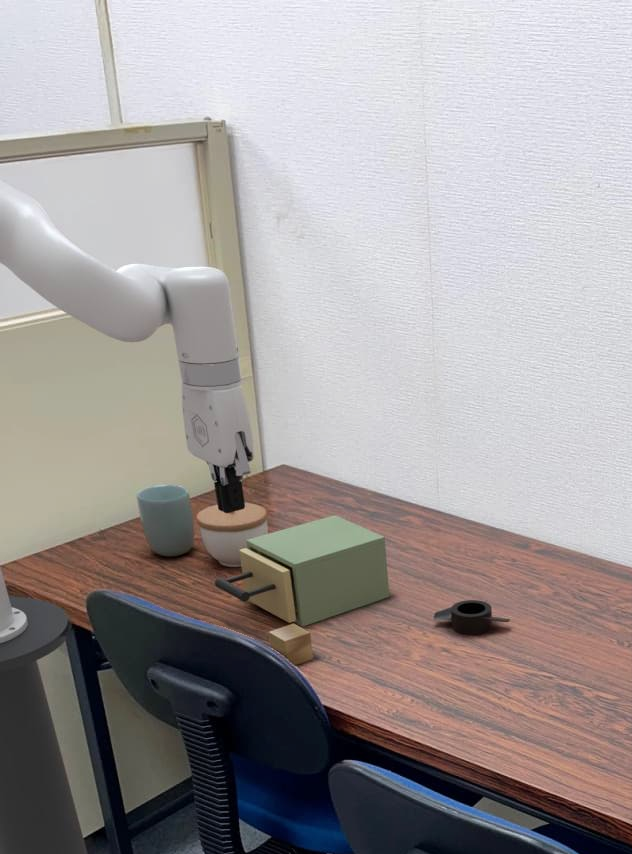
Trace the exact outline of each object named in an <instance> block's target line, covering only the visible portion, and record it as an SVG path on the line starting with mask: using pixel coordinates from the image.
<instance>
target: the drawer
mask: <svg viewBox="0 0 632 854" xmlns="http://www.w3.org/2000/svg"><path fill="white" fill-rule="evenodd" d="M239 553H240V560H241V574H237V575H235V576H231V577H228V578H225V579H224V578H222V577H217V578H216V579H215V580H214V586H215V587H216V588H218V589H220V590H222V591H224V592H225V593H227V594H229V595H230V596H233V597H235V598H237V599H238V600H240V601H241V602H248V601H249V602H250V603H252V604H254V605H256V606H258V607H260V608H261V609H262V610H265V611H267V612H268V613H271V614H272V615H273V616H276V617H278V618H280V619H282V620H283V621H285V622H287V623H289V624H292V623H295V622H294V621H296V615H295V612H297V613H298V609H297V601H296V593H295V585H294V577H293V569H292V567H290V566H288V565H286V564H284V563H282V562H280V561H278V560H276V559H274V558H272V557H270V556H268V555H266V554H264V553H262V552H260V551H258V550H257V553H258V554H257V553H255V552H253V551H251V550H249V549H247V548H244V549H241V550H239ZM239 581H243V586H244V587H243V588H244V589H242V588H240V587H239V586H237V585H235V584H233V583H237V582H239Z"/></svg>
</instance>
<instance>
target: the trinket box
mask: <svg viewBox="0 0 632 854" xmlns="http://www.w3.org/2000/svg"><path fill="white" fill-rule="evenodd" d="M196 522H197V525H198V529H199V535H200V539H201V541H202V545H203V546H204V548H205V549H206V551H207V553H208V554H209V555H210V556H211V557H212V558H214V559H215V560H217V561H218V562H219V564H220V565H222V566H224V567H229V568H239V567H241V560H240V553H239V550H241V549H244V548H247V542H246V540H248V539H252V538H255V537H259V536H262V535H266V534H269V526H268V513H267V510H266V509H265V508H264V507H263V506H261V505H258V504H255V503H250V502H245V508H244V509H242V510H238V511H234V512H230V513H224V512H223V511H220V510H219V509H218V504H214V505H211V506H208V507H206V508H203V509H201V510H200V511H199V512H197V515H196ZM241 568H242V567H241Z"/></svg>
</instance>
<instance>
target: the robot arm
mask: <svg viewBox="0 0 632 854" xmlns="http://www.w3.org/2000/svg"><path fill="white" fill-rule="evenodd" d="M0 264H1V265H2V266H4V267H6V268H7V269H8V270H10V272H12V273H13V275H14V276H16V278H17V279H19V280H20V281H22V282H23V283H24V284H25V285H27V286H28V287H29V288H30V289H31V290H33V291H34V292H36V293H37V294H38V295H39V296H40V297H42V298H43V299H44V300H45V301H47V302H48V303H50V304H51V305H53V306H54V307H56V308H57V309H59V310H60V311H62V312H64V313H65V314H67V315H69V316H70V317H72V318H74V319H76V320H77V321H80V322H81V323H82V324H85V325H87V326H88V327H90V328H92V329H93V330H96V331H97V332H99V333H101V334H103V335H105V336H107V337H109V338H112V339H114V340H117V341H121V342H124V343H140V342H143V341H146V340H147V339H149V338H150V337H152V336H153V335H154V334H155V333H156V331H158V329H159V328H160V327H163V326H164V325H171V326H172V330H173V335H174V343H175V348H176V354H177V360H178V365H179V366H178V367H179V373H180V378H181V404H182V405H181V406H182V417H183V424H184V426H183V427H184V434H185V441H186V446H187V450H188V451H189V453H190V454H191V455H192V456H194V457H196V458H198V459H199V460H202V461H204V462H205V463H206V464H207V465H208V469H209V473H210V477H211V479H212V482H213V485H214V490H215V498H216V505H218V509H219V510H220V511H223V512H224V513H230V512H234V511H238V510H242V509H244V508H245V503H246V501H245V496H244V489H243V483H242V482H243V481H244V476H248V475H250V474H251V468H250V464H249V463H250V462H252V461H253V460H254V458H255V445H254V438H253V431H252V425H251V420H250V415H249V411H248V406H247V402H246V399H245V394H244V391H243V387H242V385H243V383H244V382H243V376H242V368H241V367H242V366H241V361H240V353H239V346H238V340H237V333H236V324H235V318H234V311H233V304H232V296H231V288H230V284H229V279H228V277H227V275H226V274H225V273H224V271H222V270H221V269H218V268H215V267H212V266H211V267H210V266H185V267H180V268H172V267H165V266H164V267H163V266H157V265H151V264H144V263H131V264H130V263H129V264H126V265H123V266H122V267H120V268H118V269H117V270H116V269H114V268H112V267H110V266H108V264H105V263H104V262H101V261H100V260H99V259H96V257H93V256H92V255H90V254H89V253H87V252H85V251H84V250H82V248H79V247H78V246H76V244H74V243H72V242H71V241H70V239H68V238H66V237H65V236H64V235H63V234H62V232H61V231H59V230H58V228H57V227H56V226H55V224H54V223H53V222H52V220H51V218H50V217H49V215H48V214H47V212H46V211H45V209H44V207H43V206H42V205H41V204H40V203H39V202H38V201H37V200H36V199H34V198H33V197H31V196H30V195H28V194H27V193H25V192H23V191H21V190H19V189H18V188H16V187H14V186H12V185H11V184H9V183H8V182H6V181H4V180H2V179H1V178H0ZM9 597H10V596H9V592H8V589H7V585H6V582H5V577H4V573H3V571H2V566H1V565H0V644H1V643H4V642H7V641H9V640H11V639H13V638H15V637H17V636H19V635H20V634H21V633H22V632H23V631H24V630H25V629H26V628H27V626H28V621H27V617H26V615H25V614H24V612H22V611H20V610H19V609H16V608H13V607H11V604H10V600H9Z"/></svg>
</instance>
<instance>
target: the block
mask: <svg viewBox="0 0 632 854" xmlns="http://www.w3.org/2000/svg"><path fill="white" fill-rule="evenodd" d="M268 639H269V646H270V649H271V648H273V649H274V650H276V651H277V652H279V653H280V654H281V655H283V656H284V657H285V658H286V659H288V660H289V662H291V663H292V664H293V665H294V666H293V667H295V666H298V665H300V664H303V663H306V662H309V661H312V660H314V651H313V645H312V644H313V643H312V636H311V632H310V631H309V630H307V629H305V628H304V627H302V626H300V625H299V624H297V623H295V622H292V623H289V624H287V625H284V626H282V627H279V628H276V629H273V630H269V631H268Z"/></svg>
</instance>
